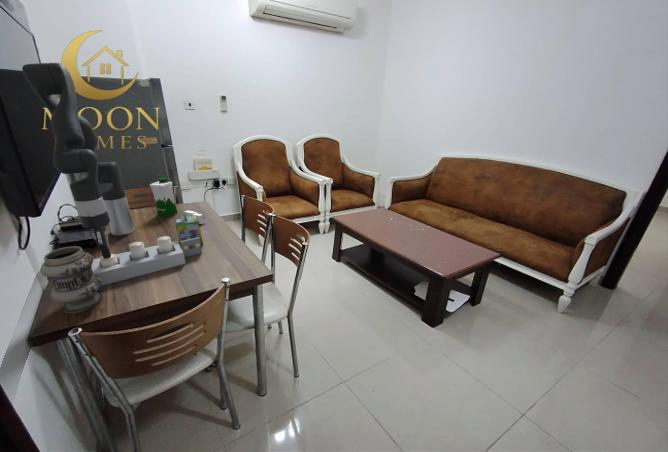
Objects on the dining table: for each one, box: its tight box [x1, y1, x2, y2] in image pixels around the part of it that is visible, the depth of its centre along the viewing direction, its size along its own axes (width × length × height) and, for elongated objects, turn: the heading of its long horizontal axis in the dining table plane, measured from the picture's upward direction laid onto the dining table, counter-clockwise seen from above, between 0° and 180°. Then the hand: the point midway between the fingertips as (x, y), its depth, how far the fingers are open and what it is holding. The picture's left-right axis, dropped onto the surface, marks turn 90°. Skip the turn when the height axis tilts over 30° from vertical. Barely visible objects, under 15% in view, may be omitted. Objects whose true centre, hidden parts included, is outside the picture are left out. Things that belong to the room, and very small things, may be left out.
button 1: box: [99, 253, 118, 268], centre depth 104 cm, size 5×5×5 cm
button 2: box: [128, 241, 146, 259], centre depth 108 cm, size 5×5×5 cm
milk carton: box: [149, 177, 178, 218], centre depth 157 cm, size 9×9×20 cm
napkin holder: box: [183, 209, 205, 225], centre depth 152 cm, size 15×11×6 cm
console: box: [91, 240, 186, 286], centre depth 110 cm, size 12×28×5 cm, turn 126°
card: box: [180, 237, 203, 258], centre depth 119 cm, size 1×7×7 cm, turn 126°
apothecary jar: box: [40, 245, 104, 314], centre depth 88 cm, size 12×12×18 cm
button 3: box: [156, 235, 173, 253], centre depth 113 cm, size 5×5×5 cm
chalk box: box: [174, 211, 204, 249], centre depth 128 cm, size 9×9×15 cm
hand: (107, 257), depth 103 cm, fingers closed
